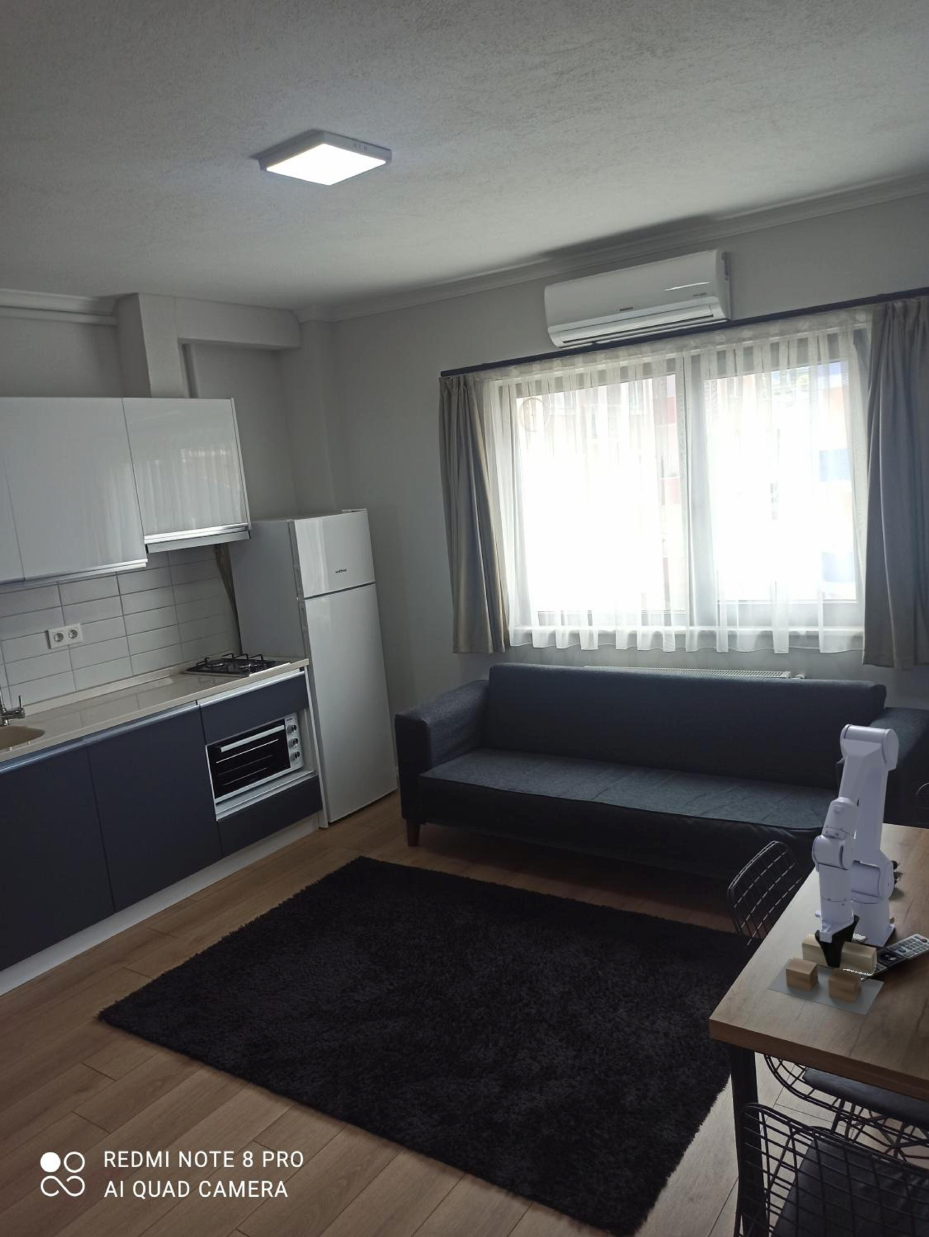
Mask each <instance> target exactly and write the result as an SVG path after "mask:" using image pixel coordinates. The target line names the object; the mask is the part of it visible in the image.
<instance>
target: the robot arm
mask: <svg viewBox="0 0 929 1237" xmlns="http://www.w3.org/2000/svg"><path fill="white" fill-rule="evenodd" d="M839 745H840V751H841V754H842V757H843V759H844V765H843V770H842V774H841V775H842V777H841V781H840V787H839V792H838V797H837V798H836V799H834V800H832V801H831V802H830V804H829V806H828V810H827V813H826V817H825V821H824V824H823V828H822V831H821V835H817V836H816V837H815V839H814V840H813V844H812V850H811V858H812V860H813V863H814V864H815V866H814V867H815V871H816V872H817V873H818V879H819V880H818V882H819V899H820V900H819V901H820V909H817V910H816V911H815V913H814V916H815V917H816V918H819V920H820V929H817V930H816V931H815V933H814V935H815V939H816V941H817V942H818V943H819V945H820V947H821V948H822V951H823V953H824V956H825V959H826V962H827V965H828V967H827V968H831V967H832V969H835V968H839V967H840V964H841V954H842V949H843V945H844V943H845V942H850V943H853V941H852V939H853V934H854V933H855V934H859V935H861V936H865V937H867V938H868V940H867V941H866V942H865V943H864V944H867V945H871V946H873V947H874V946H876V947H881V948H883V947H885V944H886V943H887V941H888V939H889V938H890V937H891V935H892V933H893V931H894V930H895V926H896V925H895V924H892V923H891V920H890V900H889V898H890V897H891V896H892V893H893V892H894V889H895V888H894V886H895V885H894V875H893V871H894V870H893V863H892V862H891V860H892V859H890V858H889V857H887V855H886V853H883V851H882V850H881V845H882V844H881V842H882V832H883V823H884V814H885V803H886V793H887V785H888V784H887V782H888V776H889V771H892V770H895V769H896V768H897V763H898V755H899V747H900V746H899V745H900V741H899V738H898V734H897V733H896V732H895V730H894V729H893V728H888V729H887V728H879V727H878V728H877V727H871V726H870V727H869V726H863V725H862V726H861V725H853V724H849V723H848V724H846V725H845V726H844V727H843V728H842V730H841V732H840V737H839ZM855 860H856V861H860V862H861V863H859V862H854V861H855ZM862 862H865V863H870V864H874V865H876V866H872V865H868V864H863V863H862ZM877 866H878V867H877Z"/></svg>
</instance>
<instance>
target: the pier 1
mask: <svg viewBox="0 0 929 1237" xmlns="http://www.w3.org/2000/svg"><path fill="white" fill-rule="evenodd" d="M791 959H792V961H791V962H790V963H789V965H788V966H787V967H786V982H787V985H788V986H792V987H796V988H799V989H803V990H807V991H811V990H812V988H813V987H814V985H815V984H816V982H817V981H818V968H817V966H818V964H817V963H815V962H811V961H807V960H803V958H798V957H793V958H791Z"/></svg>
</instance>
